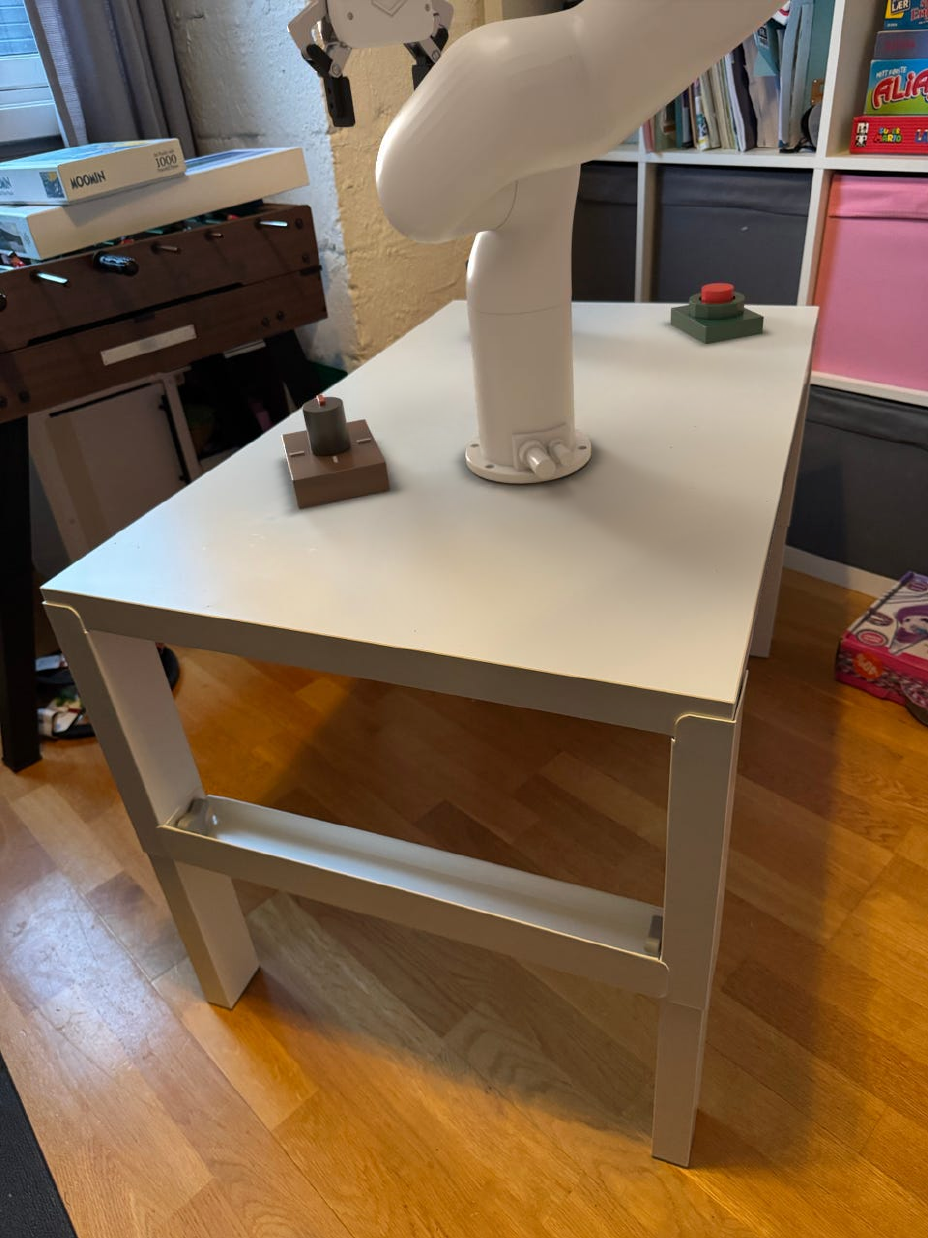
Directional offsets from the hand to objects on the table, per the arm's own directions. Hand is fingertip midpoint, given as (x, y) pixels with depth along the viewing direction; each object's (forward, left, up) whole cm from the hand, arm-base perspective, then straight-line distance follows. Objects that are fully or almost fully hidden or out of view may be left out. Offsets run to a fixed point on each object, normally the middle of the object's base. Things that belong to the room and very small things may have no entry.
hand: (387, 118), depth 85 cm
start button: (+10, -42, -26) cm, 50 cm away
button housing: (+10, -42, -30) cm, 52 cm away
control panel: (-12, +12, -30) cm, 34 cm away
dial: (-12, +12, -27) cm, 32 cm away
